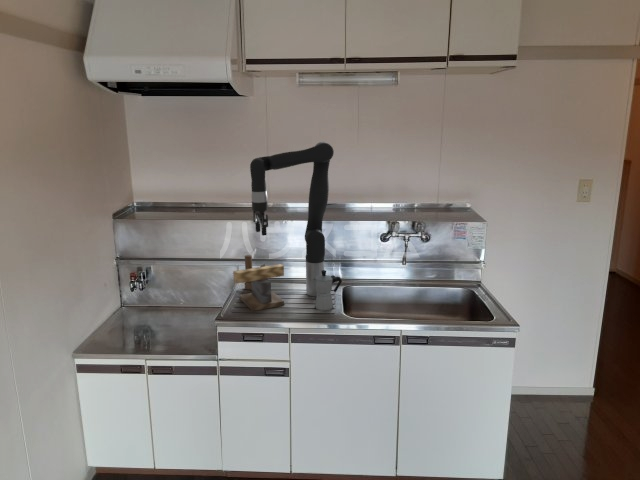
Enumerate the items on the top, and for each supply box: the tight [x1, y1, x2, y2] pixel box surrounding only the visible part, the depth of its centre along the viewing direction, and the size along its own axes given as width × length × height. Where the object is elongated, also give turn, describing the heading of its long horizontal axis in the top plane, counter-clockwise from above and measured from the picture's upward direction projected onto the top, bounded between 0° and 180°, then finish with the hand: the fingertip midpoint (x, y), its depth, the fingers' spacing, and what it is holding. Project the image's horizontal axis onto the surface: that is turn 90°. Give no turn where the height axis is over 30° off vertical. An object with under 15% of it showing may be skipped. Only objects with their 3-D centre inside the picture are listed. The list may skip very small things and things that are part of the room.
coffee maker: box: [310, 269, 343, 312], centre depth 226 cm, size 15×9×18 cm, turn 101°
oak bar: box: [232, 263, 285, 285], centre depth 232 cm, size 24×4×5 cm, turn 116°
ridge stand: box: [239, 278, 285, 312], centre depth 234 cm, size 16×18×12 cm
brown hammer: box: [244, 254, 266, 291], centre depth 250 cm, size 4×11×18 cm, turn 68°
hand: (261, 233), depth 236 cm, fingers open, 8 cm apart
